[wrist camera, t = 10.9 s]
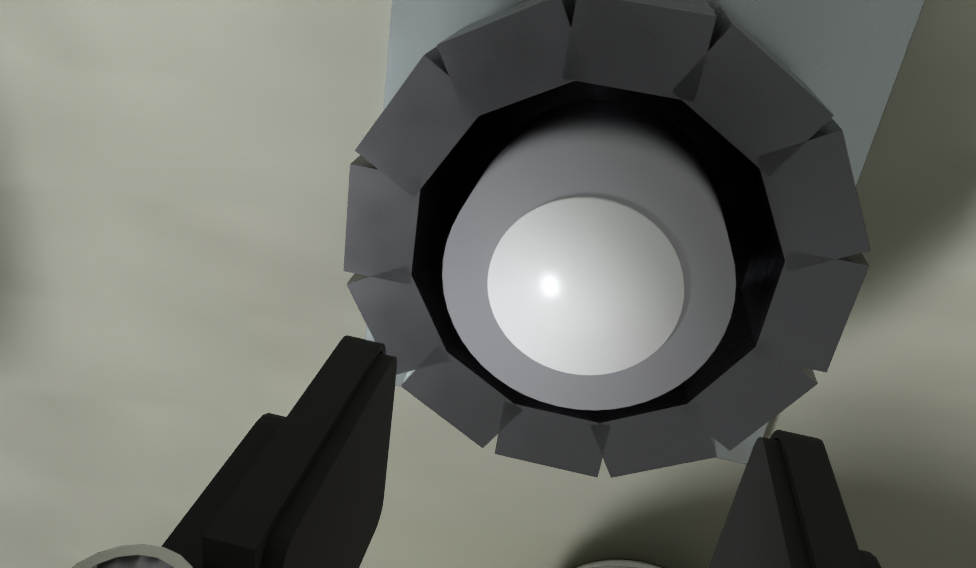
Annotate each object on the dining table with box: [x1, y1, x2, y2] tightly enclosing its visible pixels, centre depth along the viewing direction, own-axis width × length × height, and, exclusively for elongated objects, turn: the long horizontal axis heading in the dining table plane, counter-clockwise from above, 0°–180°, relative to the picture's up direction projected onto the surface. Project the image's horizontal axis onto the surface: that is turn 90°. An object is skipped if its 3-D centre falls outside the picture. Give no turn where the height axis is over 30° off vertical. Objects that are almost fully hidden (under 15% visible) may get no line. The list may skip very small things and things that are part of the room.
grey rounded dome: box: [442, 100, 736, 410], centre depth 18 cm, size 6×6×4 cm
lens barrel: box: [344, 0, 925, 478], centre depth 19 cm, size 14×12×4 cm
